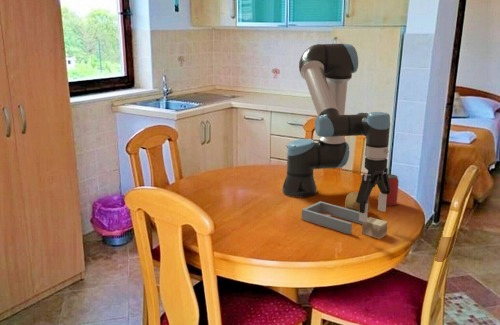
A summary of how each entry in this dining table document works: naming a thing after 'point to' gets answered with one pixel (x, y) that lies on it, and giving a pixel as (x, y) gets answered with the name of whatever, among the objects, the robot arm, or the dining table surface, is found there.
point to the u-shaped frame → (324, 211)
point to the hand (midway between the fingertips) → (372, 215)
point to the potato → (353, 202)
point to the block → (375, 228)
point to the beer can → (392, 190)
